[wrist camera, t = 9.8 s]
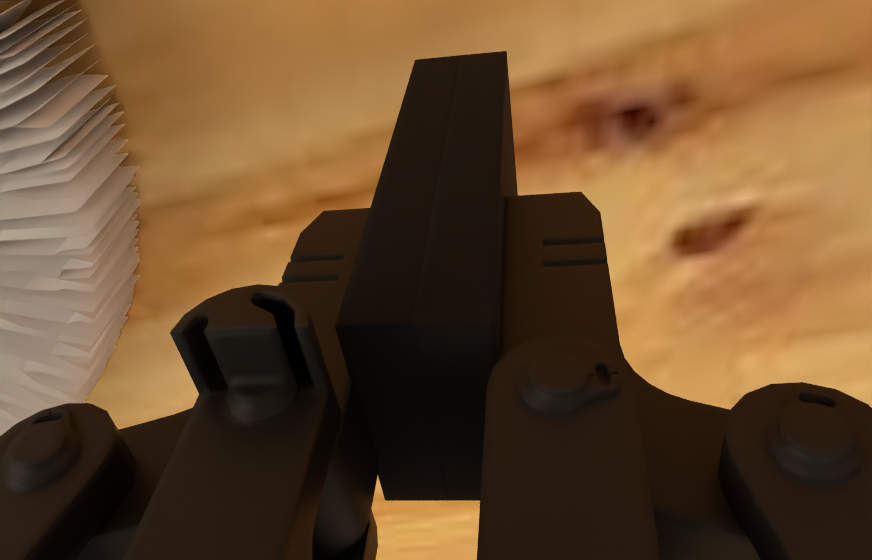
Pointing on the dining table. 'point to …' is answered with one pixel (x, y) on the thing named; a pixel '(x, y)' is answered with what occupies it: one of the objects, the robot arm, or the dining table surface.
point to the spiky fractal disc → (58, 222)
